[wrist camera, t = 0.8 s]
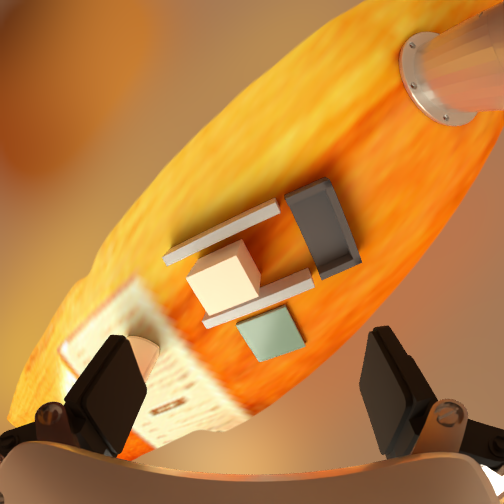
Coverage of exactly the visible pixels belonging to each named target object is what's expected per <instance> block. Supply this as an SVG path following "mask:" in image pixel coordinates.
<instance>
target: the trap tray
mask: <svg viewBox="0 0 504 504" xmlns="http://www.w3.org/2000/svg"><path fill="white" fill-rule="evenodd" d="M284 196H285V200H286V202H287V204H288V206H289V207H290V209H291V211H292V213H293V215H294V217H295V220H296V222H297V224H298V226H299V228H300V230H301V233H302V235H303V237H304V239H305V241H306V244H307V246H308V248H309V250H310V253H311V255H312V257H313V259H314V262H315V264H316V266H317V269H318V272H319V275H320V277H321V279H322V280H323V279H326V278H328V277H330V276H333V275H335V274H337V273H340V272H342V271H344V270H346V269H349V268H351V267H353V266H355V265H358V264H360V263H362V261H361V258H360V255H359V252H358V249H357V247H356V244H355V241H354V238H353V236H352V233H351V231H350V228H349V225H348V223H347V220H346V218H345V215H344V213H343V210H342V208H341V205H340V203H339V200H338V198H337V196H336V193H335V191H334V188H333V186H332V184H331V181H330V179H328V178H326V177H324V178H321V179H319V180H317V181H315V182H312V183H310V184H308V185H306V186H304V187H301V188H299V189H297V190H295V191H292V192H290V193H288V194H286V195H284Z"/></svg>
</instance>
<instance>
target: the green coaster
mask: <svg viewBox="0 0 504 504" xmlns="http://www.w3.org/2000/svg"><path fill="white" fill-rule="evenodd" d="M236 327H237V328H238V330H239V332H240V333H241V335H242V336H243V338H244V340H245V341H246V343H247V344H248V346H249V347H250V349H251V350H252V352H253V353H254V355H255V357H256V358H257V360H258V361H259V362H262V361H265V360H268V359H271V358H274V357H277V356H280V355H283V354H286V353H289V352H291V351H294V350H297V349H300V348H303V347H305V346H306V345H305V342H304V340H303V338H302V336H301V334H300V332H299V330H298V328H297V326H296V324H295V322H294V320H293V319H292V317H291V315H290V313H289V311H288V309H287V307H286V305H283V306H281V307H278V308H276V309H273V310H270V311H268V312H265V313H263V314H260V315H257V316H255V317H252V318H249V319H247V320H244V321H241V322H239V323H236Z"/></svg>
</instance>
